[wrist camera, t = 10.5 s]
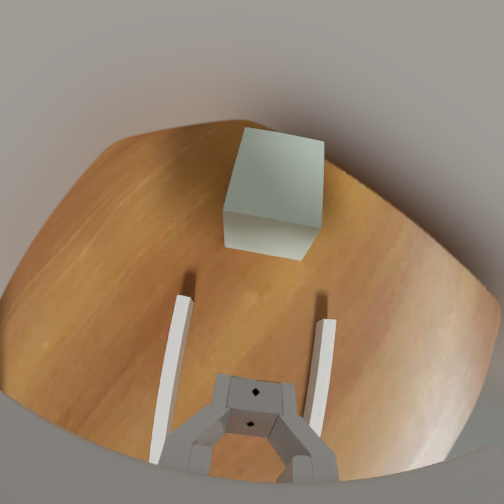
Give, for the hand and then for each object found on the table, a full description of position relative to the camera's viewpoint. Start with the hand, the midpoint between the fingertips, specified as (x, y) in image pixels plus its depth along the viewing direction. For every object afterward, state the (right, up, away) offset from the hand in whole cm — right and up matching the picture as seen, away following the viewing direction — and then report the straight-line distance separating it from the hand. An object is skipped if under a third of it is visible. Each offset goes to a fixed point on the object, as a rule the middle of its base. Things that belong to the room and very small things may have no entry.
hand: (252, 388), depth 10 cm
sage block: (+2, +10, +21) cm, 23 cm away
